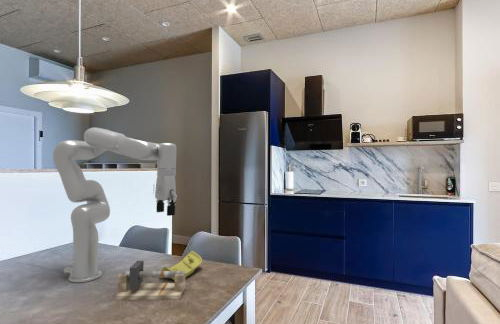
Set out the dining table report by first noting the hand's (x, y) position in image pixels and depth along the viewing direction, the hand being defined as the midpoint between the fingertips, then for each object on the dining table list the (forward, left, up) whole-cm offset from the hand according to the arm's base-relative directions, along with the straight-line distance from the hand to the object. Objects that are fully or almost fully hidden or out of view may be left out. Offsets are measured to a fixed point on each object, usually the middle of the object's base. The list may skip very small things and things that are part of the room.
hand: (165, 213), depth 121 cm
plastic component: (+6, +10, -29) cm, 31 cm away
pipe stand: (-2, -10, -29) cm, 30 cm away
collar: (-8, -10, -26) cm, 29 cm away
